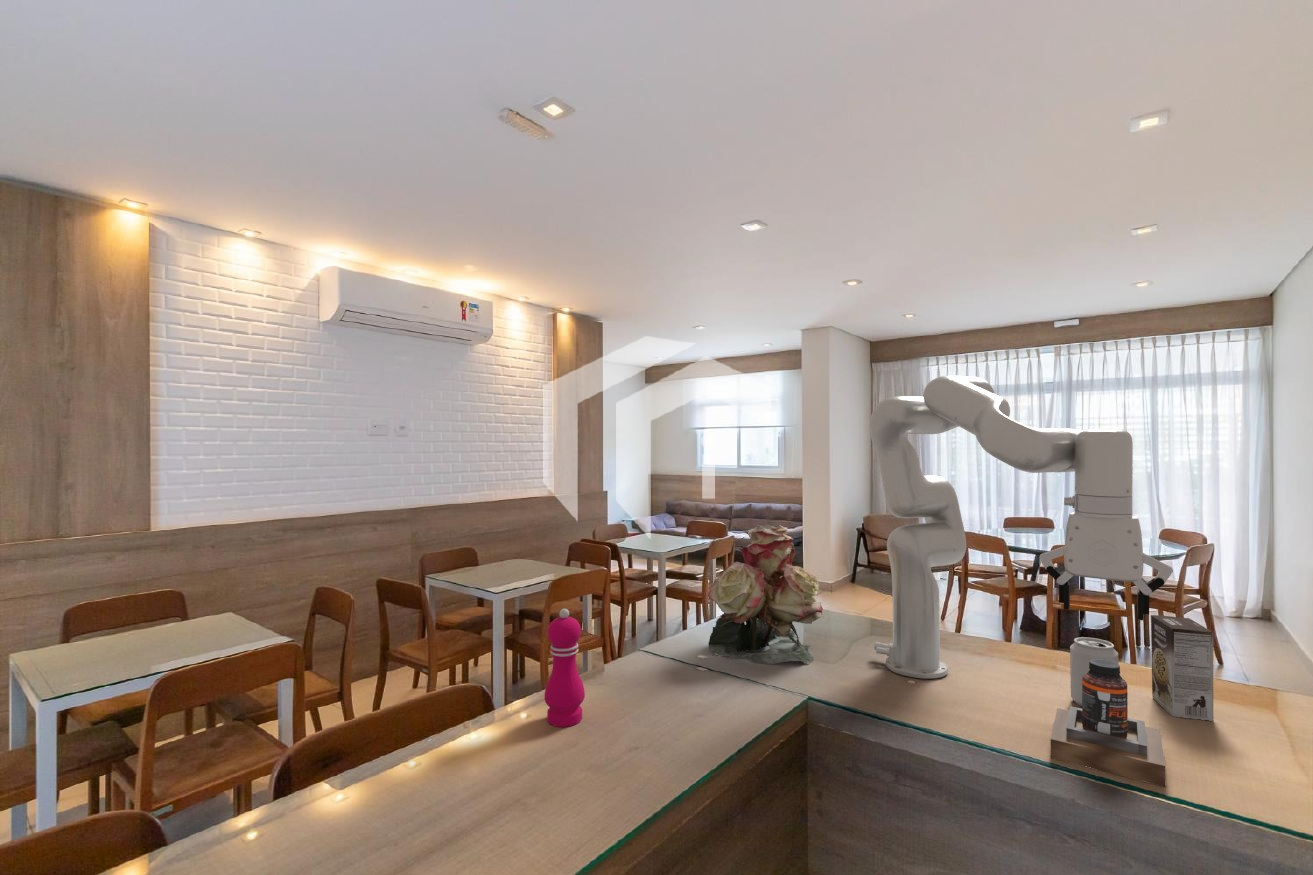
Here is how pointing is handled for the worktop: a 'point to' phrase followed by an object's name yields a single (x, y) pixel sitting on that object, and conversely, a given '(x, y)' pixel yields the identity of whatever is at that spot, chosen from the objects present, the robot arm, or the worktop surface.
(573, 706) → the pepper mill
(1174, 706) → the coffee box
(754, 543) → the rose bouquet
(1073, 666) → the can
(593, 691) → the worktop surface
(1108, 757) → the display pedestal
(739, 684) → the worktop surface
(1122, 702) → the supplement bottle
